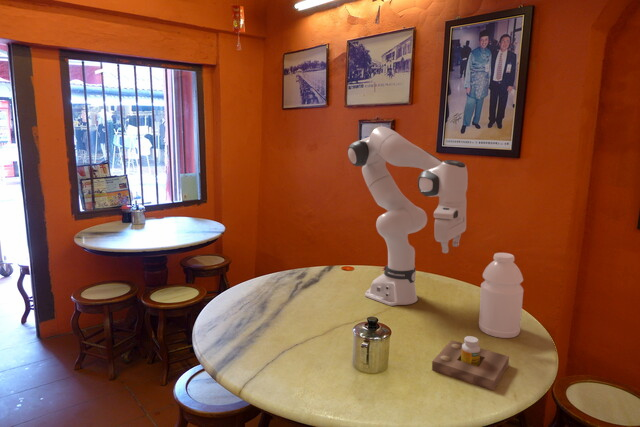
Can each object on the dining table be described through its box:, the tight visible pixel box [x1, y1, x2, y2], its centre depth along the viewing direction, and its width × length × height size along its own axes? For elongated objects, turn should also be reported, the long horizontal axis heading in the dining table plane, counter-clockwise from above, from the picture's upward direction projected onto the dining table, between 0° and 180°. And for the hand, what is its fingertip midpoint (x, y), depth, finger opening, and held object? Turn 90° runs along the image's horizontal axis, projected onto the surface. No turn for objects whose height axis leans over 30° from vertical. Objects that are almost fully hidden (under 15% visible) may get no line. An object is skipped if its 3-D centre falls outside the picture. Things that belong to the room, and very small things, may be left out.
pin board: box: [431, 339, 510, 391], centre depth 133 cm, size 18×16×3 cm
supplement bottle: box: [461, 335, 481, 367], centre depth 132 cm, size 5×5×10 cm
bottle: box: [478, 252, 525, 339], centre depth 155 cm, size 14×14×28 cm
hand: (450, 249), depth 149 cm, fingers open, 8 cm apart
